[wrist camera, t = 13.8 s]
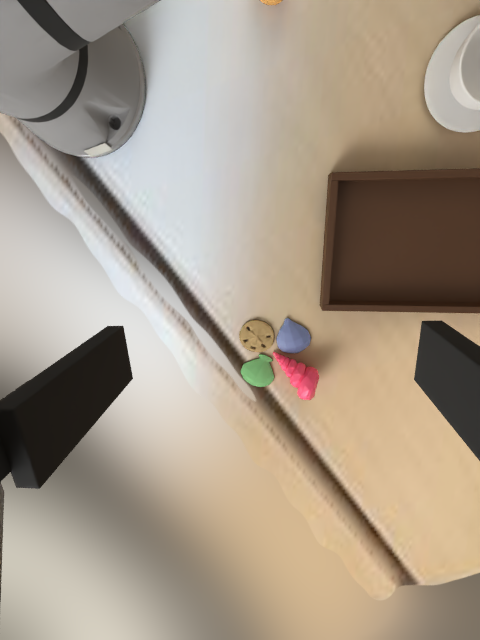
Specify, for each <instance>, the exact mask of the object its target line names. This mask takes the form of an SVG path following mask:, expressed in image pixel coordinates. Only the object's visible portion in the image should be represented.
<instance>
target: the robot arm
mask: <svg viewBox="0 0 480 640" xmlns="http://www.w3.org/2000/svg"><path fill="white" fill-rule="evenodd" d="M159 1H160V0H0V113H3V114H6V115H9V116H12V117H15V118H17V119H18V120H19V121H20V122H21V123H23V124H24V125H25V126H26V127H27V128H29V129H30V130H31V131H32V132H33V133H34V134H35V135H36V136H37V137H38V138H39V139H41V140H42V141H43V142H45V143H46V144H48V145H50V146H52V147H53V148H55V149H57V150H59V151H61V152H64V153H67V154H70V155H74V156H78V157H84V158H95V157H101V156H104V155H107V154H110V153H112V152H114V151H115V150H117V149H119V148H120V147H121V146H122V145H124V144H125V142H126V141H127V140H128V139H129V138H130V137H131V136H132V134H133V132H134V131H135V129H136V127H137V125H138V123H139V121H140V118H141V115H142V112H143V108H144V103H145V91H146V85H145V74H144V68H143V63H142V60H141V57H140V54H139V51H138V48H137V46H136V44H135V42H134V40H133V38H132V37H131V35H130V33H129V32H128V30H127V29H126V27H125V26H124V25H123V23H124V22H126V21H128V20H129V19H131V18H133V17H134V16H136V15H137V14H139V13H141V12H142V11H144V10H146V9H147V8H149V7H150V6H152V5H154V4H155V3H157V2H159ZM132 379H133V377H132V372H131V367H130V361H129V356H128V350H127V344H126V339H125V333H124V328H123V326H107V327H106V328H104V329H103V330H101V331H100V332H99V333H97V334H96V335H94V336H93V337H92V338H90V339H89V340H87V341H86V342H84V343H83V344H81V345H80V346H79V347H77V348H76V349H74V350H73V351H71V352H70V353H68V354H67V355H66V356H64V357H63V358H61V359H60V360H58V361H57V362H55V363H54V364H53V365H51V366H50V367H48V368H47V369H46V370H44V371H43V372H41V373H40V374H38V375H37V376H35V377H34V378H33V379H31V380H29V381H27V382H26V383H25V384H23V385H21V386H20V387H19V388H17V389H16V390H15V391H13V392H11V393H10V394H8V395H7V396H6V397H5V398H3V399H1V400H0V600H1V570H2V538H3V510H4V508H3V507H4V490H3V487H2V485H1V480H3V479H4V478H5V477H6V476H7V475H8V474H9V472H11V474H12V476H13V479H14V482H15V485H16V487H17V488H41V486H42V485H43V484H44V483H45V482H46V480H47V479H48V478H49V477H50V476H51V475H52V473H53V472H54V471H55V470H56V469H57V467H58V466H59V465H60V464H61V463H62V461H63V460H64V459H65V458H66V457H67V456H68V454H69V453H70V452H71V451H72V450H73V448H74V447H75V446H76V445H77V444H78V443H79V441H80V440H81V439H82V438H83V437H84V435H85V434H86V433H87V432H88V431H89V429H90V428H91V427H92V426H93V425H94V424H95V423H96V421H97V420H98V419H99V418H100V416H101V415H102V414H103V413H104V412H105V411H106V410H107V408H108V407H109V406H110V405H111V403H112V402H113V401H114V400H115V399H116V398H117V397H118V395H119V394H120V393H121V392H122V391H123V389H124V388H125V387H126V386H127V385H128V384H129V382H130V381H131V380H132ZM414 380H415V381H416V382H417V384H418V385H419V386H420V387H421V389H422V390H423V391H424V392H425V394H426V395H427V396H428V397H429V399H430V400H431V401H432V402H433V404H434V405H435V406H436V407H437V409H438V410H439V411H440V412H441V413H442V415H443V416H444V417H445V418H446V420H447V421H448V422H449V423H450V425H451V426H452V427H453V428H454V430H455V431H456V432H457V433H458V435H459V436H460V437H461V438H462V439H463V441H464V442H465V443H466V444H467V446H468V447H469V448H470V449H471V451H472V452H473V453H474V454H475V456H476V457H477V458H478V459H479V461H480V346H478V345H477V344H475V343H474V342H472V341H471V340H469V339H468V338H466V337H465V336H463V335H462V334H460V333H459V332H458V331H456V330H455V329H453V328H452V327H450V326H449V325H447V324H446V323H444V322H443V321H422V325H421V332H420V340H419V347H418V355H417V362H416V370H415V377H414Z"/></svg>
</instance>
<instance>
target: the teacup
mask: <svg viewBox="0 0 480 640" xmlns="http://www.w3.org/2000/svg"><path fill="white" fill-rule="evenodd" d="M424 93H425V100H426V103H427V107H428V109H429V111H430V113H431V114H432V116H433V117H434V119H435V120H436V121H437V122H438V123H439V124H441V125H442V126H444V127H445V128H447V129H450V130H453V131H456V132H474V131H479V130H480V15H477V16H475V17H472V18H470V19H467V20H466V21H464V22H462V23H461V24H459V25H458V26H456V27H455V28H454V29H453V30H451V31H450V32H449V33H448V34H447V35H446V36H445V37H444V39H443V40H442V41H441V42H440V44H439V45H438V47H437V48H436V50H435V51H434V53H433V55H432V57H431V59H430V62H429V64H428V67H427V71H426V75H425V83H424Z"/></svg>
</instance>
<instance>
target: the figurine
mask: <svg viewBox="0 0 480 640" xmlns="http://www.w3.org/2000/svg"><path fill="white" fill-rule="evenodd" d="M260 1H261V2H263V3H264V4H267V5H276V4H278V3H280V2H282V1H283V0H260Z"/></svg>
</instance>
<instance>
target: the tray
mask: <svg viewBox="0 0 480 640" xmlns="http://www.w3.org/2000/svg"><path fill="white" fill-rule="evenodd" d="M320 307H321V309H322V310H323V311H379V312H438V313H480V168H478V169H443V170H407V171H372V172H336V173H331V174H329V175H328V190H327V205H326V220H325V235H324V250H323V265H322V280H321V295H320Z"/></svg>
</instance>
